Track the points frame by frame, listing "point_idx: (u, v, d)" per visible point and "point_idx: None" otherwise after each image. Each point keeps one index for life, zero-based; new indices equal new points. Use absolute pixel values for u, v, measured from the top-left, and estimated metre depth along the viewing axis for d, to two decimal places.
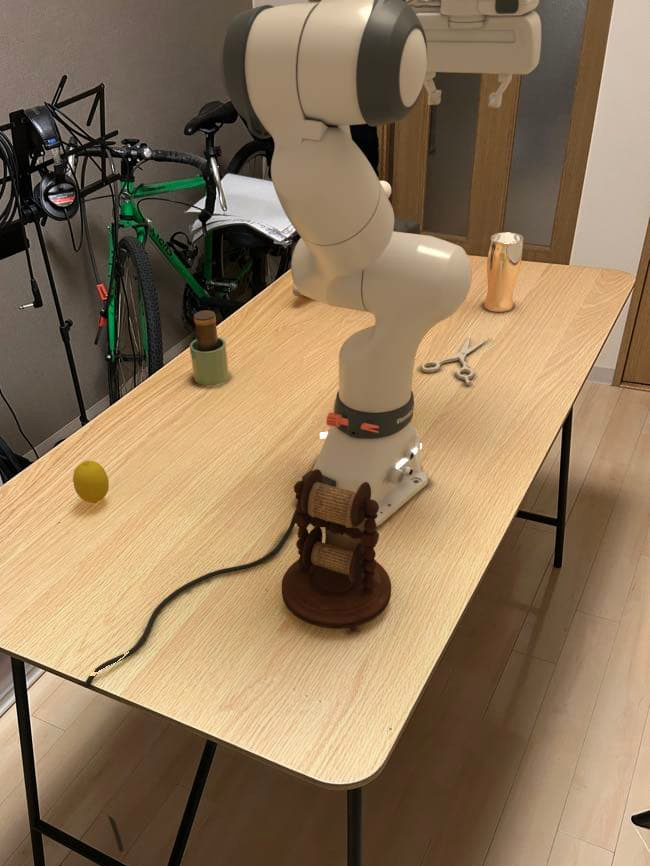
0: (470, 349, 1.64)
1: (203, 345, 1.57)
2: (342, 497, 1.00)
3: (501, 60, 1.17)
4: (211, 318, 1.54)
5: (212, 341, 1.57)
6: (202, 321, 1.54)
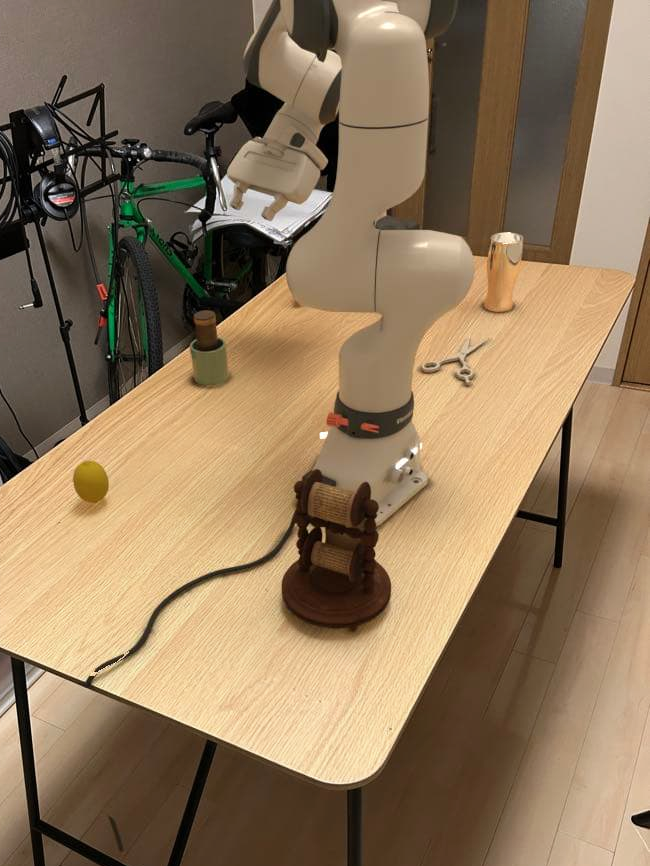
0: (470, 349, 1.64)
1: (203, 345, 1.57)
2: (342, 496, 1.00)
3: (281, 181, 1.45)
4: (211, 318, 1.54)
5: (212, 341, 1.57)
6: (202, 321, 1.54)
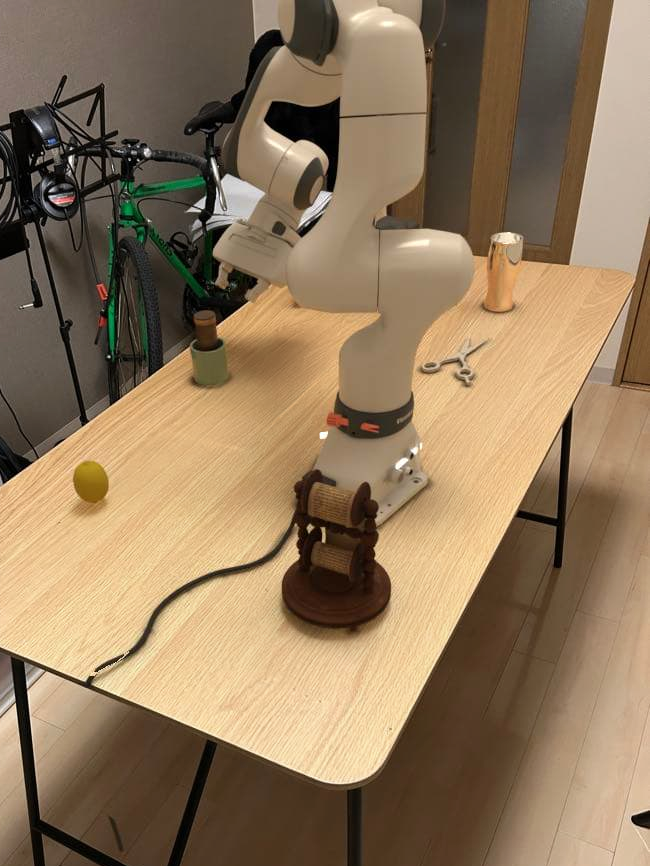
0: (470, 349, 1.64)
1: (203, 345, 1.57)
2: (342, 496, 1.00)
3: (263, 266, 1.51)
4: (211, 318, 1.54)
5: (212, 341, 1.57)
6: (202, 321, 1.54)
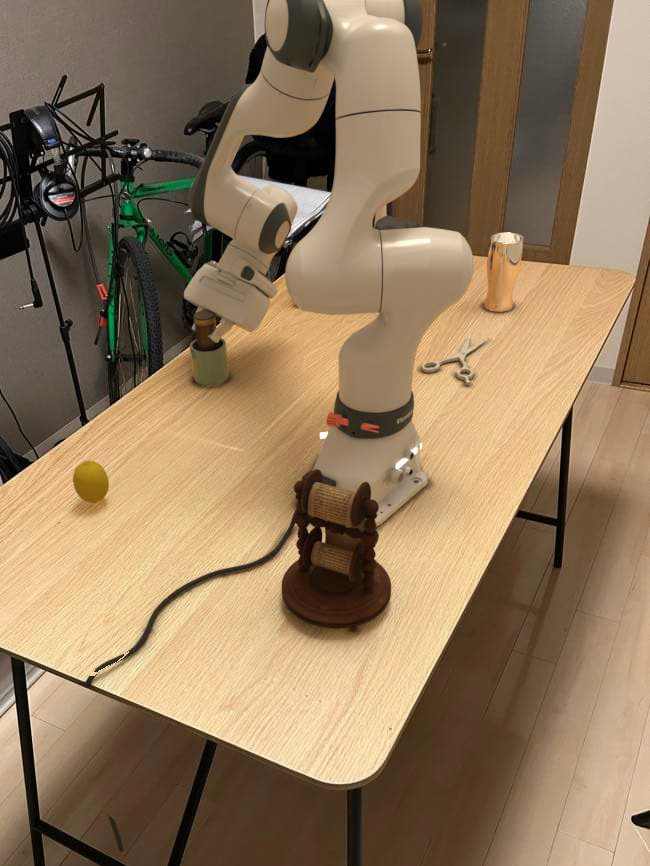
0: (470, 349, 1.64)
1: (202, 345, 1.57)
2: (342, 496, 1.00)
3: (232, 310, 1.52)
4: (211, 318, 1.54)
5: (212, 341, 1.57)
6: (202, 321, 1.54)
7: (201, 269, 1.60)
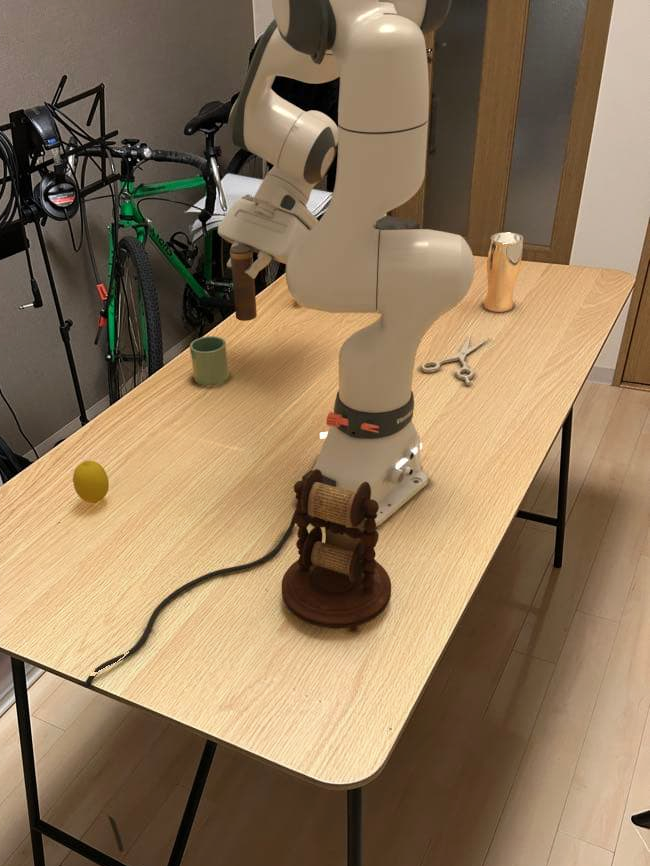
0: (470, 349, 1.64)
1: (239, 281, 1.50)
2: (342, 496, 1.00)
3: (271, 242, 1.44)
4: (248, 252, 1.47)
5: (249, 277, 1.50)
6: (239, 255, 1.47)
7: (236, 203, 1.53)
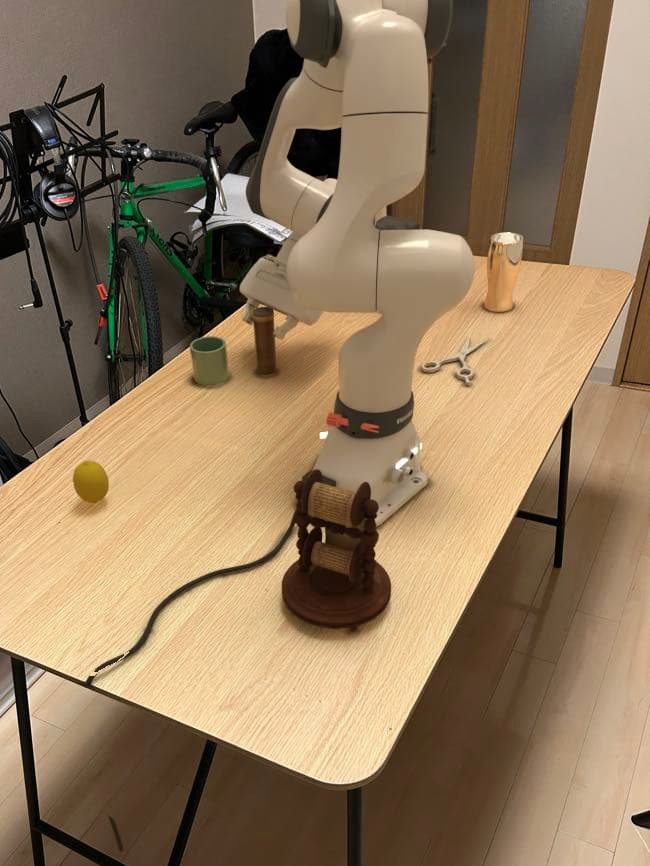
0: (470, 349, 1.64)
1: (260, 341, 1.58)
2: (342, 496, 1.00)
3: (292, 304, 1.52)
4: (270, 315, 1.55)
5: (270, 338, 1.58)
6: (261, 318, 1.55)
7: (257, 263, 1.60)
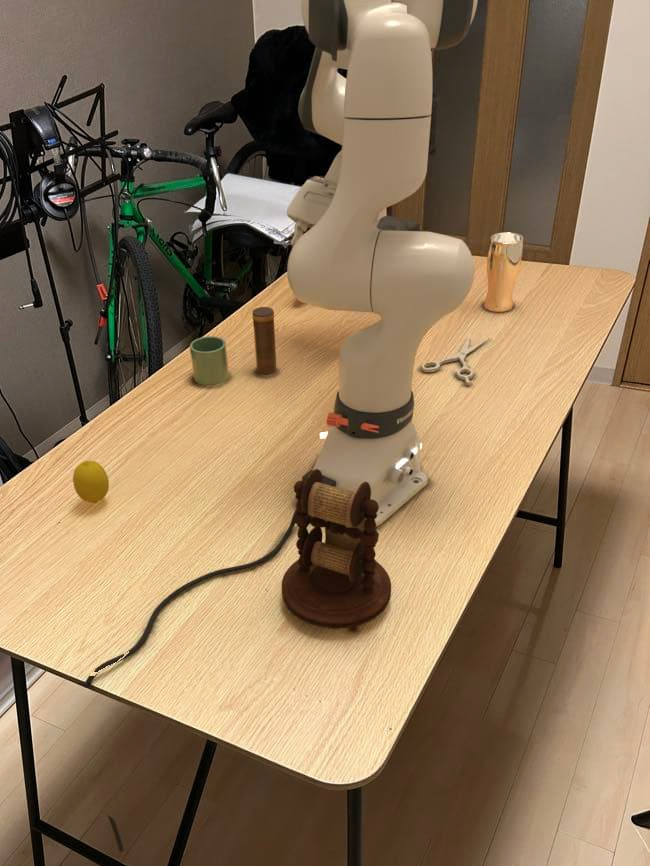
0: (470, 349, 1.64)
1: (260, 341, 1.58)
2: (342, 496, 1.00)
3: None
4: (270, 315, 1.55)
5: (270, 338, 1.58)
6: (261, 318, 1.55)
7: (305, 185, 1.58)
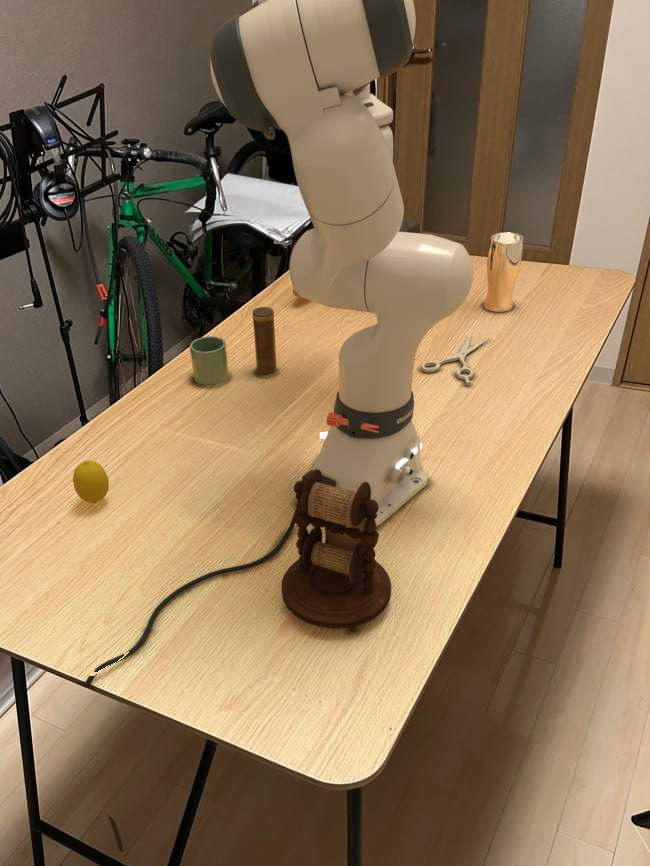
0: (470, 349, 1.64)
1: (260, 341, 1.58)
2: (342, 496, 1.00)
3: None
4: (270, 315, 1.55)
5: (270, 338, 1.58)
6: (261, 318, 1.55)
7: None
